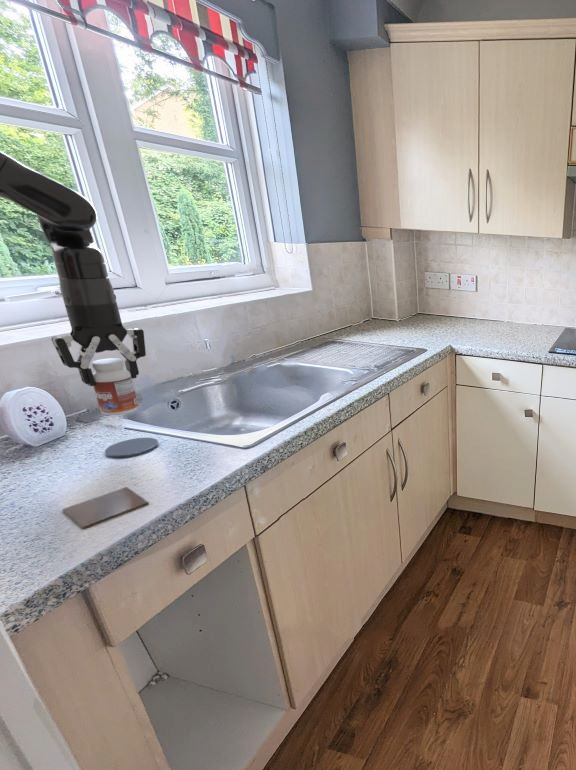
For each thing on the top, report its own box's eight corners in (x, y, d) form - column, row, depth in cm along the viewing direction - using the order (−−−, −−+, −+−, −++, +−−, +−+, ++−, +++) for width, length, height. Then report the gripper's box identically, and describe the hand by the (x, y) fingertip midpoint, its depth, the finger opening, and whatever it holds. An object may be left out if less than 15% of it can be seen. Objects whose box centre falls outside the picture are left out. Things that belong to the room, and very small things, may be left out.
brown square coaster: (82, 529, 74) (82, 527, 74) (62, 511, 78) (61, 509, 78) (149, 504, 81) (148, 502, 81) (127, 488, 85) (126, 486, 85)
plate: (115, 462, 94) (114, 459, 94) (98, 450, 99) (97, 448, 98) (166, 446, 102) (165, 444, 101) (147, 436, 106) (147, 434, 106)
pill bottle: (93, 413, 95) (78, 362, 91) (126, 404, 100) (113, 355, 97) (114, 418, 93) (100, 366, 90) (146, 408, 99) (134, 359, 95)
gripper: (127, 295, 97) (145, 371, 102) (32, 301, 85) (59, 386, 91) (143, 299, 93) (161, 377, 99) (46, 306, 81) (73, 394, 87)
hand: (112, 381), depth 95 cm, fingers closed on pill bottle, 6 cm apart
